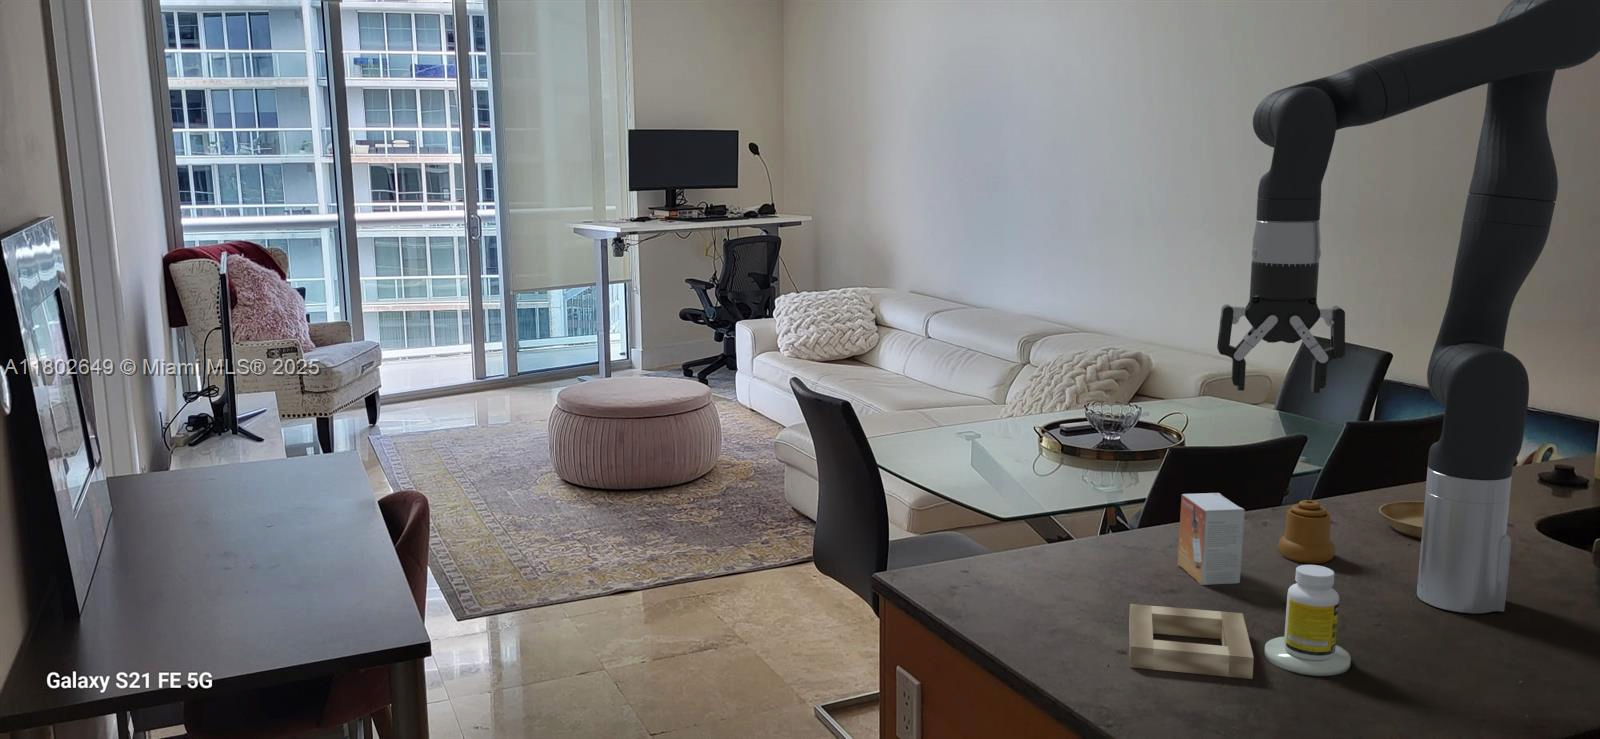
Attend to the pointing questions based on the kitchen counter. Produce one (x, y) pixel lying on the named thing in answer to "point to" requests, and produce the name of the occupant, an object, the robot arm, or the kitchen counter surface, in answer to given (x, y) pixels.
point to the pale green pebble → (1303, 666)
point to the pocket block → (1190, 656)
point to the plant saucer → (1405, 516)
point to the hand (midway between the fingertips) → (1277, 390)
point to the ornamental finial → (1307, 534)
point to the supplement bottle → (1312, 614)
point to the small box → (1211, 538)
